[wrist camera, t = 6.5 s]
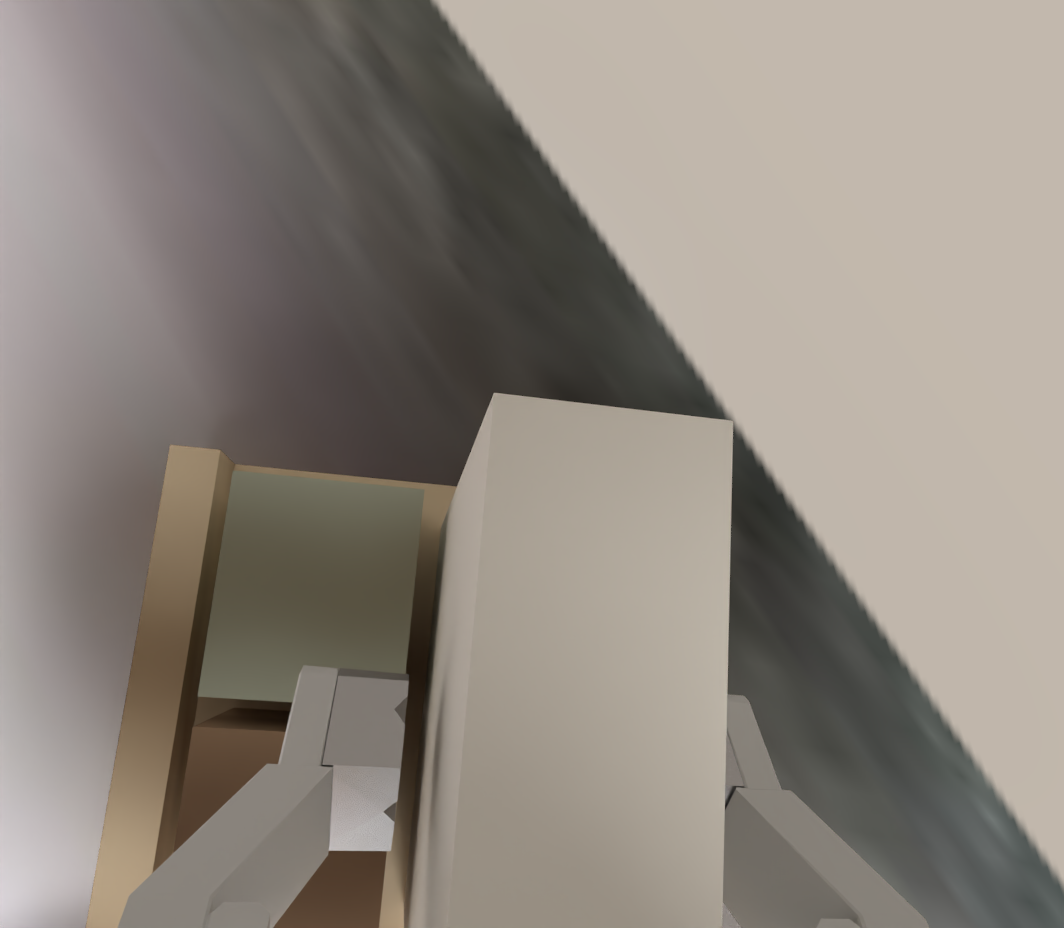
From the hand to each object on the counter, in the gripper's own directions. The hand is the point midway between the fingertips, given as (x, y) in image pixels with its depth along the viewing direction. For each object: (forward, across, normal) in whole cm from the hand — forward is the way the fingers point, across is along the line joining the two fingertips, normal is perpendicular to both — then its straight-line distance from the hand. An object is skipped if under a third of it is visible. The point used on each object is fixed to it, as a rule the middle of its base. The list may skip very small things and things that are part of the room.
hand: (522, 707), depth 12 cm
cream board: (+4, 0, +5) cm, 6 cm away
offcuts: (+4, +4, +5) cm, 7 cm away
